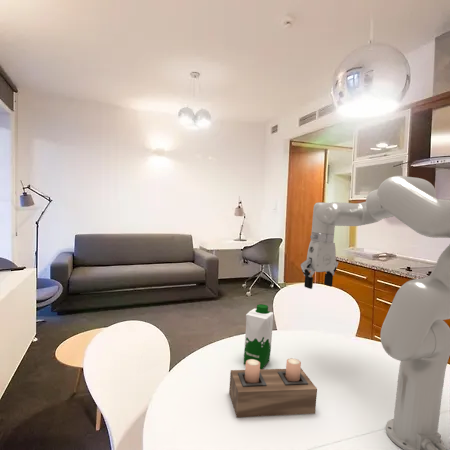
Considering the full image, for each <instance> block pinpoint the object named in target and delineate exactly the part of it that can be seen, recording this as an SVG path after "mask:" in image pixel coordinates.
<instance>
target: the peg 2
mask: <svg viewBox="0 0 450 450" xmlns="http://www.w3.org/2000/svg"><path fill="white" fill-rule="evenodd" d="M285 369H286V375H285V379H286V380H287V382H299V381H300V369H302V362H301V360H299V359H296V358H290V357H289V358H287V359H286V364H285Z"/></svg>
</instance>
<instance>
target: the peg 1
mask: <svg viewBox="0 0 450 450" xmlns="http://www.w3.org/2000/svg"><path fill="white" fill-rule="evenodd" d="M244 368H245V369H244V370H245V383H259V373H260V362H259V361H257V360H254V359H249V360H247V361H246V364H245V366H244Z"/></svg>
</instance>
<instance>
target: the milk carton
mask: <svg viewBox="0 0 450 450" xmlns="http://www.w3.org/2000/svg"><path fill="white" fill-rule="evenodd" d="M274 313H275V312H272V311H270V310H269V306H268V305H267V304H264V303H261V304H260V303H259V304H257V305H256V308H253V309H251V310H249V311H248V312H247V313H246V314H245V336H244V337H245V338H244V354H243V364H244V365H246V361H247V360H249V359H254V360H257V361H259V362H260V369H264V368H265V367H266V365H267V364H268V363H269V362H270V358H271V351H272V350H271V349H272V341H273V340H272V337H273V326H274V325H273V323H274Z"/></svg>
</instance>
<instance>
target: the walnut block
mask: <svg viewBox="0 0 450 450" xmlns="http://www.w3.org/2000/svg"><path fill="white" fill-rule="evenodd" d="M229 375H230V377H229V389H228V390H229V391H228V394H229V397H230V399H231V404H232V407H233V411H234V414H235V416H236V418H253V417H254V418H255V417H273V416H291V415H293V416H294V415H312V414H316V407H317V394H318V388H317V387H316V386H315V384H314V383H313V382H312V380H311V378H309V376H308V375H307V374H306V372H305V371H304V369H303V368H301V369H300V381H299V382H287V380H286V379H285V375H286V368H266V369H264V368H263V369H260V373H259V383H245V369H230V374H229Z"/></svg>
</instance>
